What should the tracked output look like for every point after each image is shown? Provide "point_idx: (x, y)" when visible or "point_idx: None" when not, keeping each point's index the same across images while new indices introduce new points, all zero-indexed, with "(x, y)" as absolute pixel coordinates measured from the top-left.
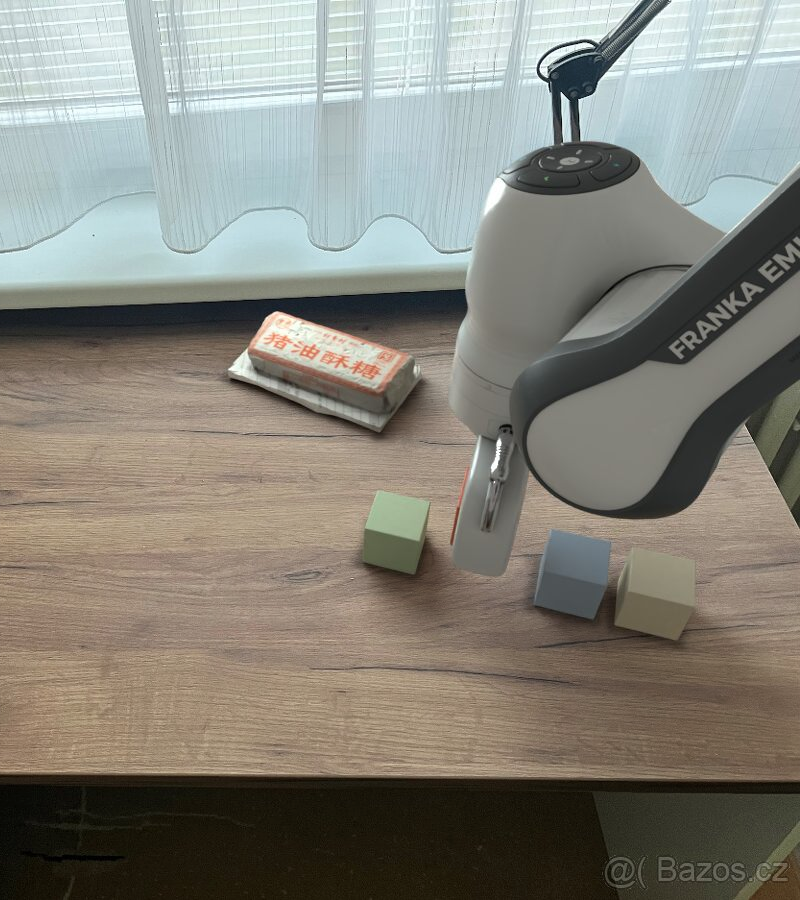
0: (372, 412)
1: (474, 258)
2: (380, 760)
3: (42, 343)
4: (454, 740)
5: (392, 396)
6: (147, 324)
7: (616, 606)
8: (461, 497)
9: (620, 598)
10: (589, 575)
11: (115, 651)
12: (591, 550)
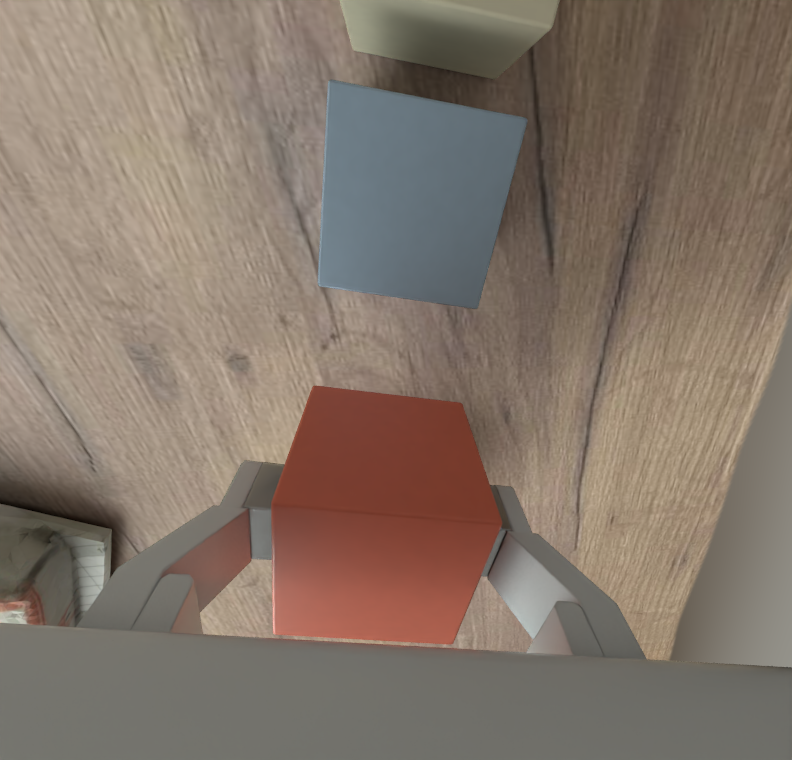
0: (73, 555)
1: None
2: (719, 475)
3: None
4: (713, 396)
5: (17, 566)
6: None
7: (447, 67)
8: (413, 641)
9: (460, 55)
10: (485, 178)
11: None
12: (381, 162)
